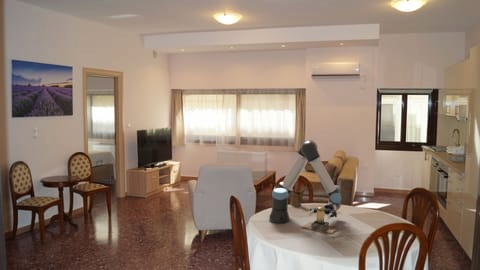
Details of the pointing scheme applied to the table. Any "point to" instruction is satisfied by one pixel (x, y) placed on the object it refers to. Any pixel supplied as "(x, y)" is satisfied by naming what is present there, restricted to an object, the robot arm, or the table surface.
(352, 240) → the table surface
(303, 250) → the table surface
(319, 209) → the brass fitting
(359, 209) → the table surface
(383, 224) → the table surface
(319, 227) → the wooden board with frame
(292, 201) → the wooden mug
